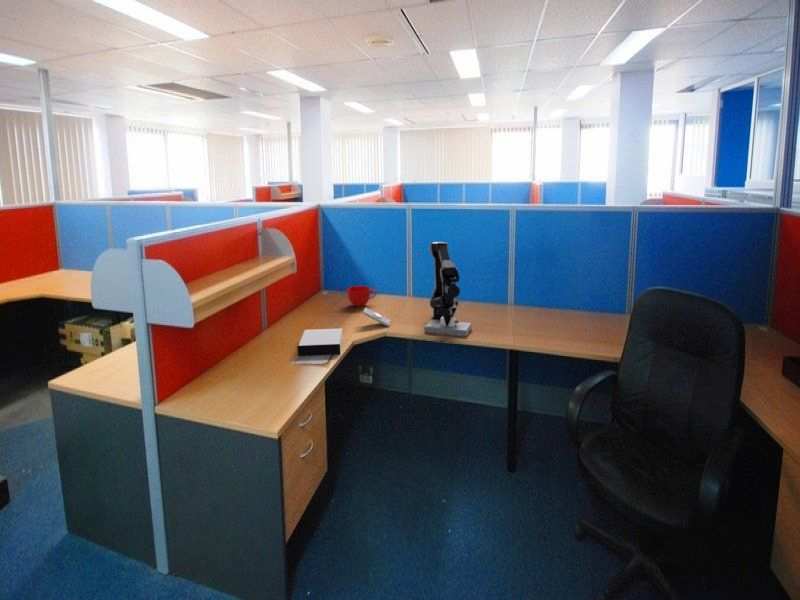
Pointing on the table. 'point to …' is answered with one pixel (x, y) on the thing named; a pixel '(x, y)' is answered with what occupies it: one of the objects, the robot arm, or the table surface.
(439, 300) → the robot arm
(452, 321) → the plug
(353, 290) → the ceramic cup
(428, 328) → the socket
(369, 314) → the light switch
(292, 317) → the table surface
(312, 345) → the disc drive
